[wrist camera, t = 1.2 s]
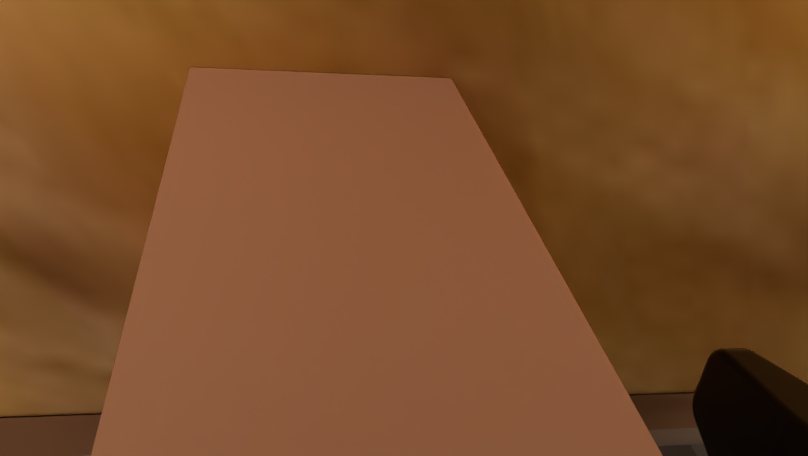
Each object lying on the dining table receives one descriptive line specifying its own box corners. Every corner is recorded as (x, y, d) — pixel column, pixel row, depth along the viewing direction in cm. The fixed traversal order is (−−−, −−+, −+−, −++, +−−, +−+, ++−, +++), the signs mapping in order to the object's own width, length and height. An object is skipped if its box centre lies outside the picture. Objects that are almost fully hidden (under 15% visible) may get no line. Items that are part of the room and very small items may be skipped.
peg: (450, 78, 12) (869, 825, 4) (422, 284, 14) (649, 1064, 6) (189, 66, 11) (-38, 964, 3) (200, 285, 13) (85, 1178, 5)
